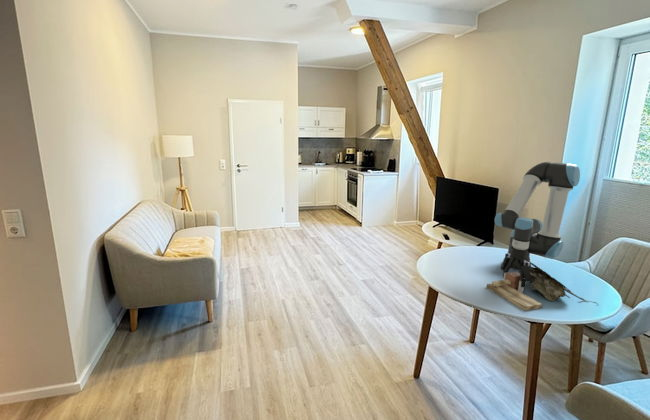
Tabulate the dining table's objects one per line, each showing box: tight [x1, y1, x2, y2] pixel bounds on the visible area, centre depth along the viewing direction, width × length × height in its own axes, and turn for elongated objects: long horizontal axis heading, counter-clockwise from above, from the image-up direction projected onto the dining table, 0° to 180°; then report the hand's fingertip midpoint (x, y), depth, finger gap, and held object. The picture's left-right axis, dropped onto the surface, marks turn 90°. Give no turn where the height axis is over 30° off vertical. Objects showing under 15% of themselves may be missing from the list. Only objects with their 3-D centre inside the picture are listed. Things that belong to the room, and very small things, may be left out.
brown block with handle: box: [491, 271, 521, 291], centre depth 176 cm, size 16×5×8 cm, turn 108°
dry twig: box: [563, 287, 599, 307], centre depth 174 cm, size 24×10×2 cm, turn 5°
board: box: [486, 283, 543, 311], centre depth 168 cm, size 10×24×2 cm, turn 18°
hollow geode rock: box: [528, 261, 572, 302], centre depth 176 cm, size 28×13×15 cm
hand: (512, 287), depth 178 cm, fingers open, 9 cm apart
